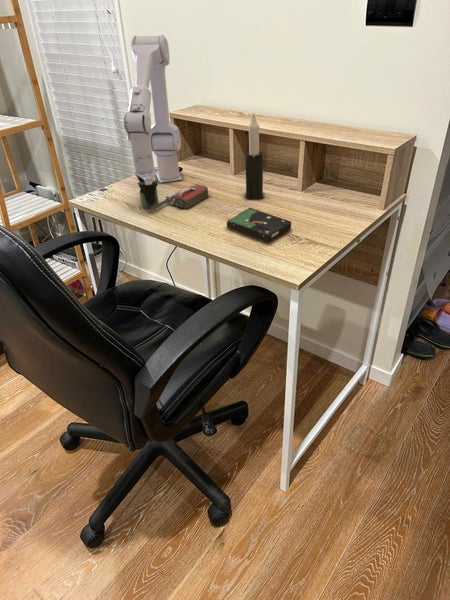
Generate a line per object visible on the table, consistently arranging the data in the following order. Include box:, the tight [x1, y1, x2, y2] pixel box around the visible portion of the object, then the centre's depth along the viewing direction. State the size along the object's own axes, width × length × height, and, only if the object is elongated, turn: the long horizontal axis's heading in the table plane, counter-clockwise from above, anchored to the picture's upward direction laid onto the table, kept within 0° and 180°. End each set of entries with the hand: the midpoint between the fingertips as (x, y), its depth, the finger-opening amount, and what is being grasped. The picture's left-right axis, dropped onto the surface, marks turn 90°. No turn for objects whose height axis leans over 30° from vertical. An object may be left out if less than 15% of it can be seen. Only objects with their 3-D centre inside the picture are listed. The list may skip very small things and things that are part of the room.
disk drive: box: [226, 207, 292, 244], centre depth 124 cm, size 10×3×15 cm
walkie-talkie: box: [149, 183, 209, 211], centre depth 140 cm, size 9×4×20 cm
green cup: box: [138, 187, 160, 210], centre depth 140 cm, size 5×5×5 cm
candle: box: [244, 112, 264, 200], centre depth 136 cm, size 5×5×25 cm
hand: (149, 198), depth 140 cm, fingers open, 7 cm apart
